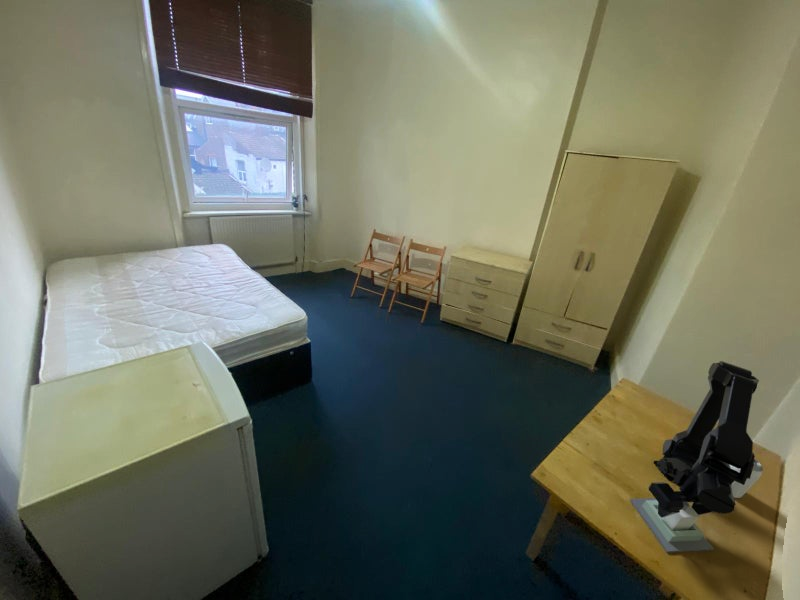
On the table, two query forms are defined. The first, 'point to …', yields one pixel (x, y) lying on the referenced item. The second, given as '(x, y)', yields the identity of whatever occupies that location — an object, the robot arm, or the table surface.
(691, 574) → the table surface
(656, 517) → the charging dock
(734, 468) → the can
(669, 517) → the plug
